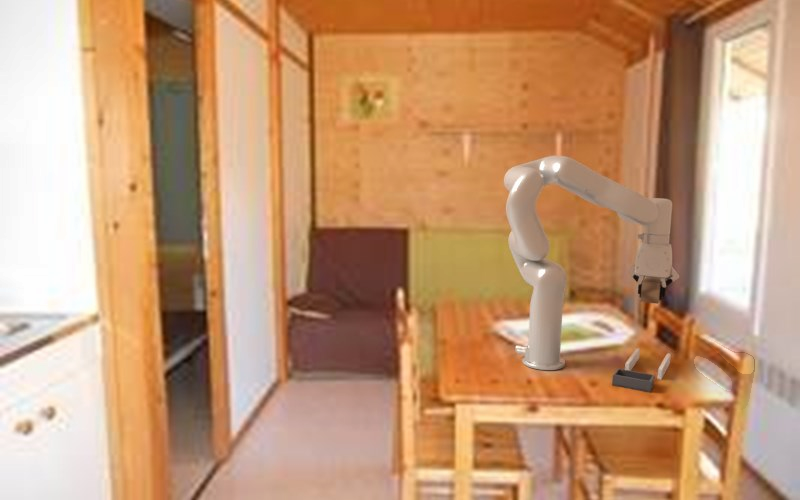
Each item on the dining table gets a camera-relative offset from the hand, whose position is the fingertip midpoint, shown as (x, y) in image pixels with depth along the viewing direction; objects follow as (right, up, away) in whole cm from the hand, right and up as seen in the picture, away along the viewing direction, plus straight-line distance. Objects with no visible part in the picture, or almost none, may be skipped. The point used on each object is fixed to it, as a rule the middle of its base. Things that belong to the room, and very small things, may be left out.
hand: (651, 297), depth 202 cm
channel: (-3, -21, -6) cm, 22 cm away
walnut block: (+1, -1, +1) cm, 2 cm away
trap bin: (-13, -23, -20) cm, 33 cm away
